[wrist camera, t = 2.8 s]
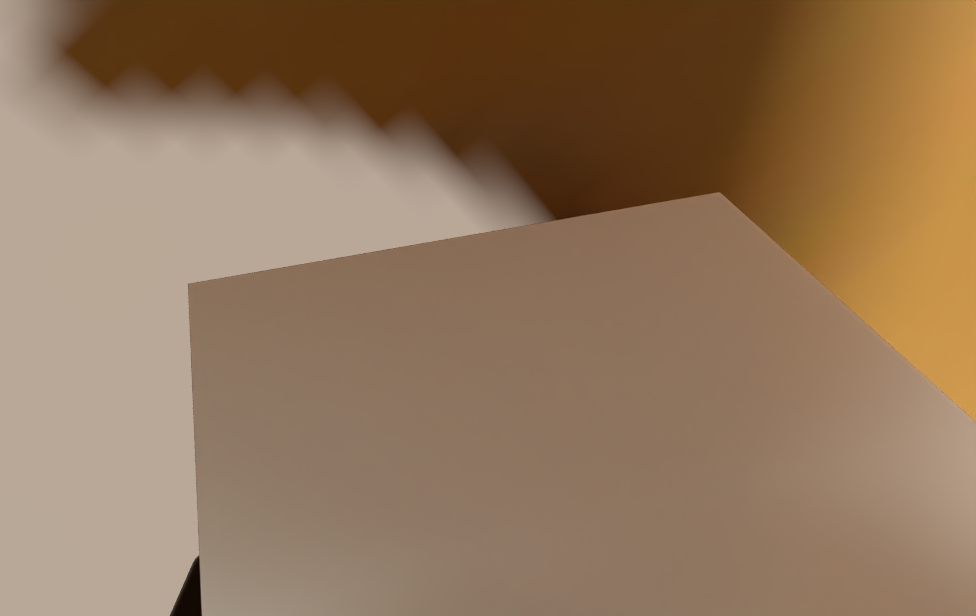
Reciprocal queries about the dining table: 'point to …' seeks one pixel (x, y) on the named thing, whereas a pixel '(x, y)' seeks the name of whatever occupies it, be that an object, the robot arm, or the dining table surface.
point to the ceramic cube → (571, 433)
